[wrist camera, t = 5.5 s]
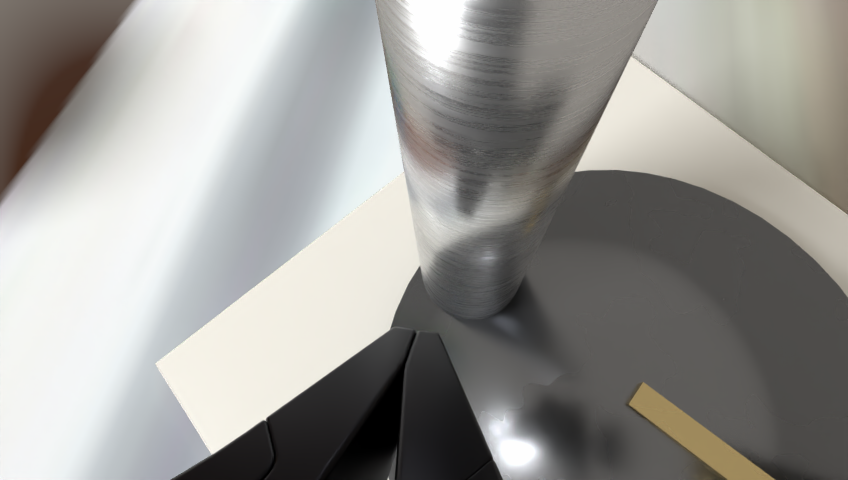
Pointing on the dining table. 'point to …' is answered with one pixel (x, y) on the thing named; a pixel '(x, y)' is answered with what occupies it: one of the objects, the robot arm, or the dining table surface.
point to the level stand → (398, 261)
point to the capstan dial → (598, 265)
